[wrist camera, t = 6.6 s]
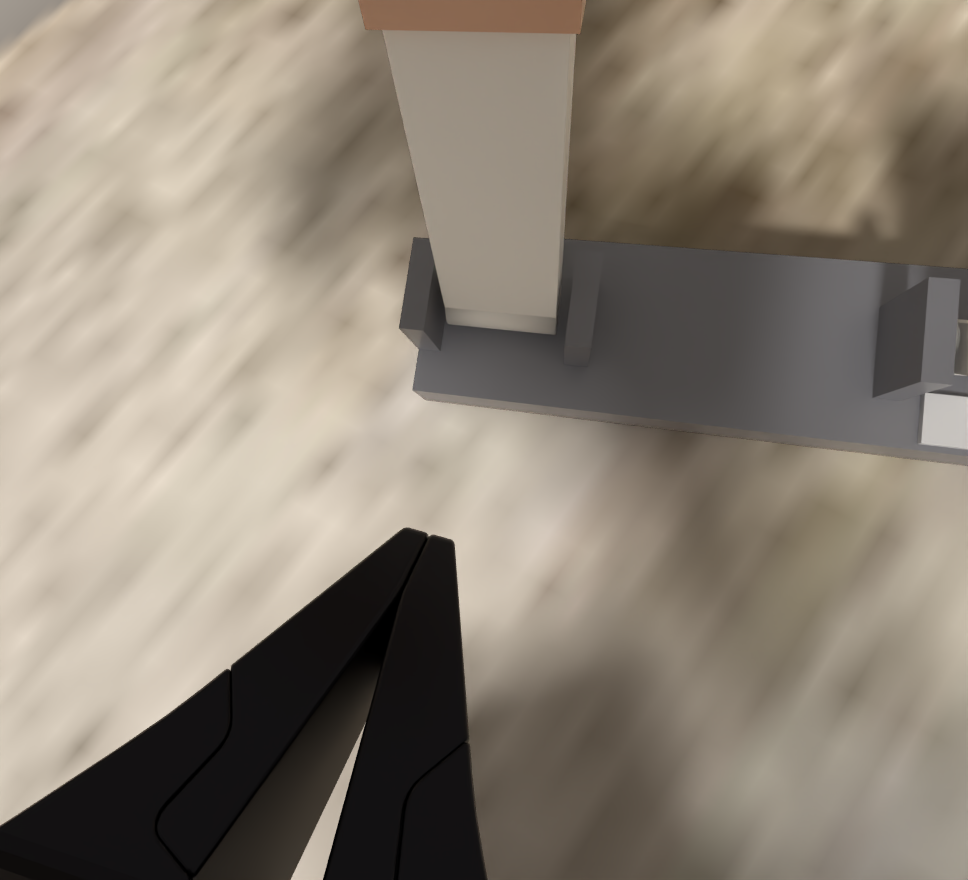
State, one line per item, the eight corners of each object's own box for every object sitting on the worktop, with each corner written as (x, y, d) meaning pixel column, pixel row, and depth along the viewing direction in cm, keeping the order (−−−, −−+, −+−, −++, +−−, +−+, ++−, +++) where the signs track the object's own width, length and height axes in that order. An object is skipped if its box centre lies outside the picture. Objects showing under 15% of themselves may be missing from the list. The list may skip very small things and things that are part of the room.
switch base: (1030, 473, 19) (1171, 464, 15) (425, 400, 22) (391, 374, 18) (1040, 300, 20) (1180, 241, 15) (448, 253, 23) (420, 192, 18)
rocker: (559, 350, 19) (587, -80, 9) (442, 337, 19) (339, -77, 9) (566, 302, 20) (600, -142, 9) (454, 292, 20) (371, -136, 10)
